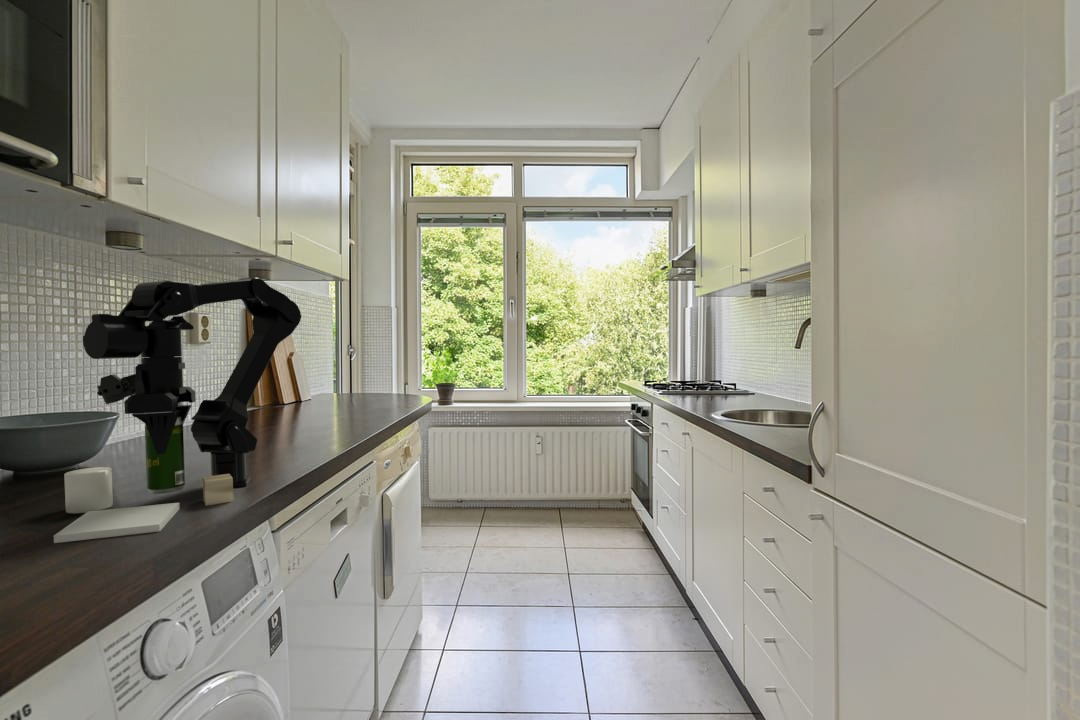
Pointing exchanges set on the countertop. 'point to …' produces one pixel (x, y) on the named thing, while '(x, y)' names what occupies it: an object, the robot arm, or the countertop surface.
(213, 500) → the maple block
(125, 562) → the countertop surface
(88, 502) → the rounded cream cube
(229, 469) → the robot arm
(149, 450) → the beer can
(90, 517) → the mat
